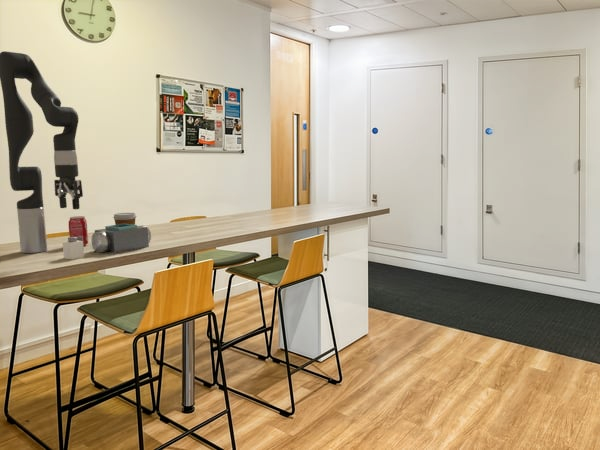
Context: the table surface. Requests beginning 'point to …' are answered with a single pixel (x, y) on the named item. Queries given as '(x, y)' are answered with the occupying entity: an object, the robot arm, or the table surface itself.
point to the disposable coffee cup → (124, 218)
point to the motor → (120, 238)
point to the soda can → (78, 229)
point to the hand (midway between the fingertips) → (69, 208)
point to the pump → (73, 248)
